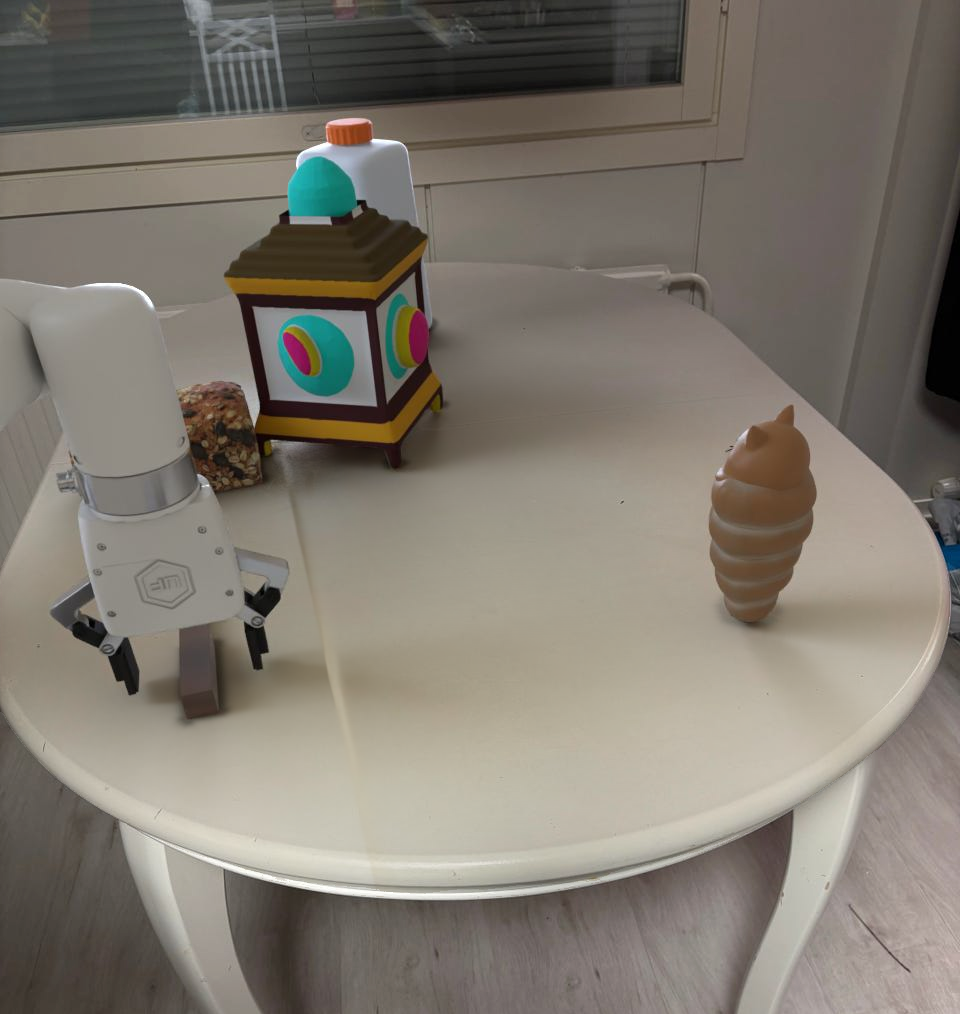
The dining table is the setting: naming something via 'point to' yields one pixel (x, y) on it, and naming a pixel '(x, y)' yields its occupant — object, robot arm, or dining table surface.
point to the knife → (198, 671)
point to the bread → (220, 434)
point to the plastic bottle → (373, 173)
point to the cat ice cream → (761, 515)
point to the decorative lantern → (336, 320)
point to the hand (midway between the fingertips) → (196, 671)
